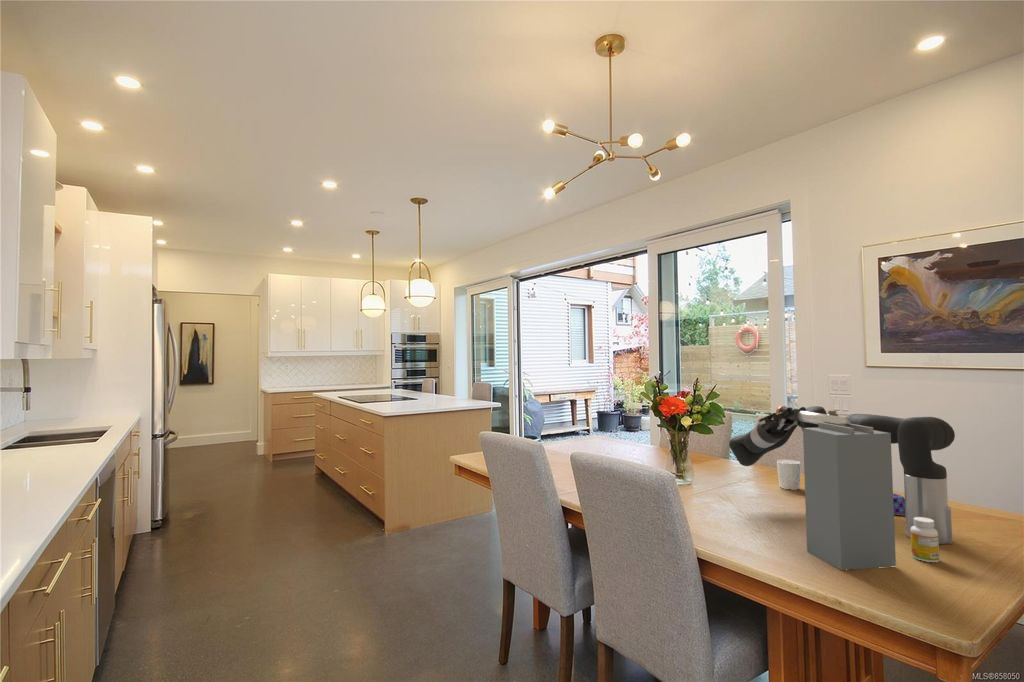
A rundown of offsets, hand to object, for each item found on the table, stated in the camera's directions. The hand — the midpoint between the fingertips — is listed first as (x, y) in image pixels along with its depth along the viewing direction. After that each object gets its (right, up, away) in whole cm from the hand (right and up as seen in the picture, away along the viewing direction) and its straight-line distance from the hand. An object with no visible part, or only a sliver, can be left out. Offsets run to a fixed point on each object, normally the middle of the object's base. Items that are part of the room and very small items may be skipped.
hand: (798, 410), depth 144 cm
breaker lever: (+1, -3, -5) cm, 6 cm away
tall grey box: (+2, -35, -19) cm, 39 cm away
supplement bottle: (+21, -34, -19) cm, 45 cm away
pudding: (+41, -36, +18) cm, 58 cm away
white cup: (+24, -36, +47) cm, 64 cm away
